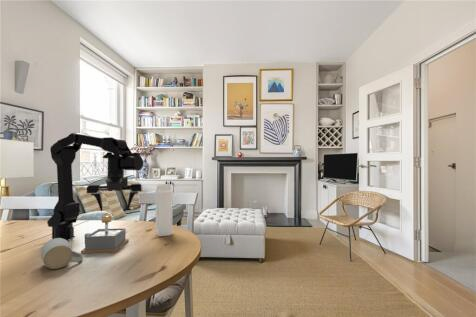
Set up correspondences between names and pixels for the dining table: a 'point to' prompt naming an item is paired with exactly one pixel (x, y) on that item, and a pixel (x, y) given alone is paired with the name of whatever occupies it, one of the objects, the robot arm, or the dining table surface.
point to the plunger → (106, 228)
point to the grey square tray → (105, 242)
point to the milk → (164, 210)
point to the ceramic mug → (58, 253)
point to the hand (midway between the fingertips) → (115, 210)
